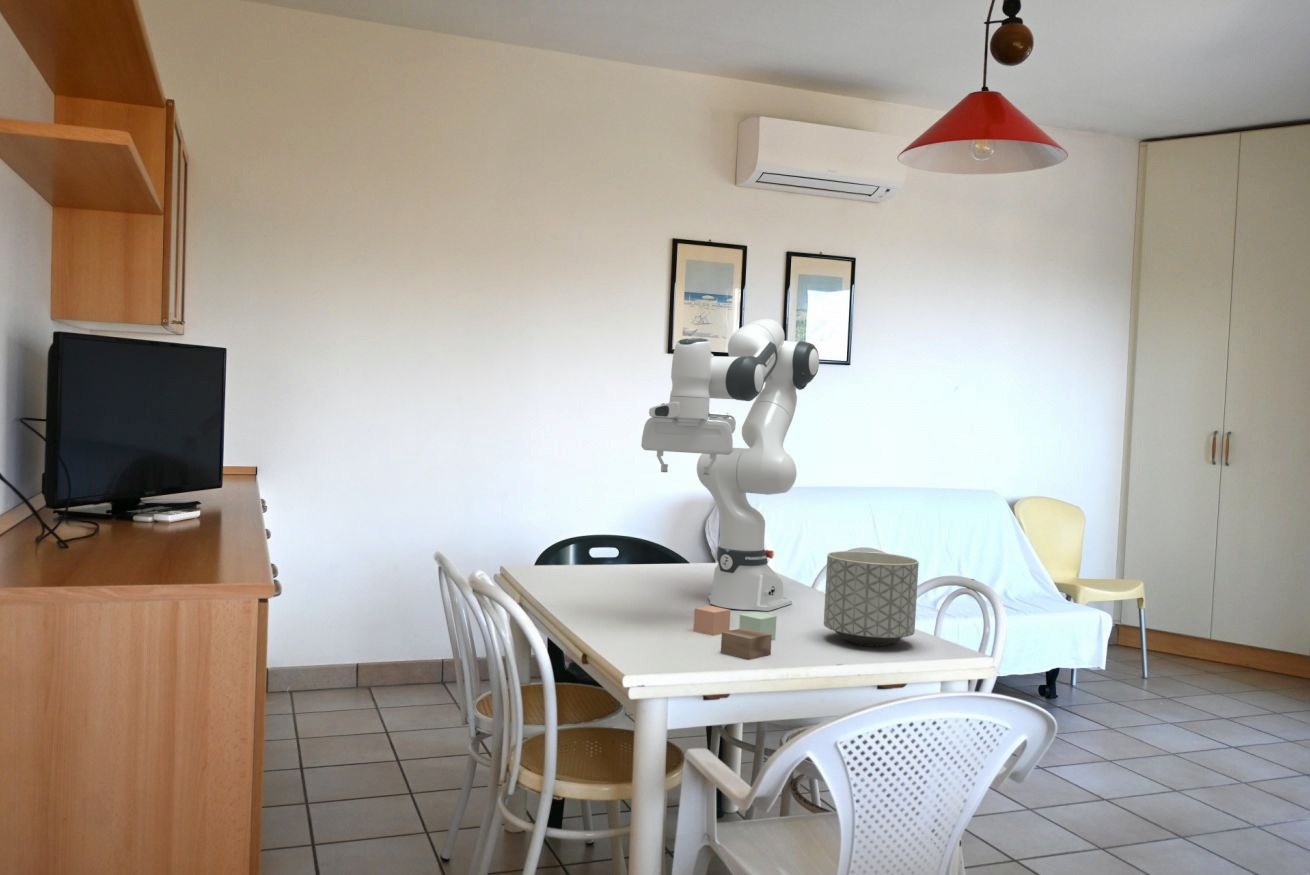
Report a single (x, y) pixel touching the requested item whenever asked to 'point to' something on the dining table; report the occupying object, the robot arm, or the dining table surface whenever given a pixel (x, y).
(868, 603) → the planter
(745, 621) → the sage block
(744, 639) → the walnut base
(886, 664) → the dining table surface
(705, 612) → the terracotta block
